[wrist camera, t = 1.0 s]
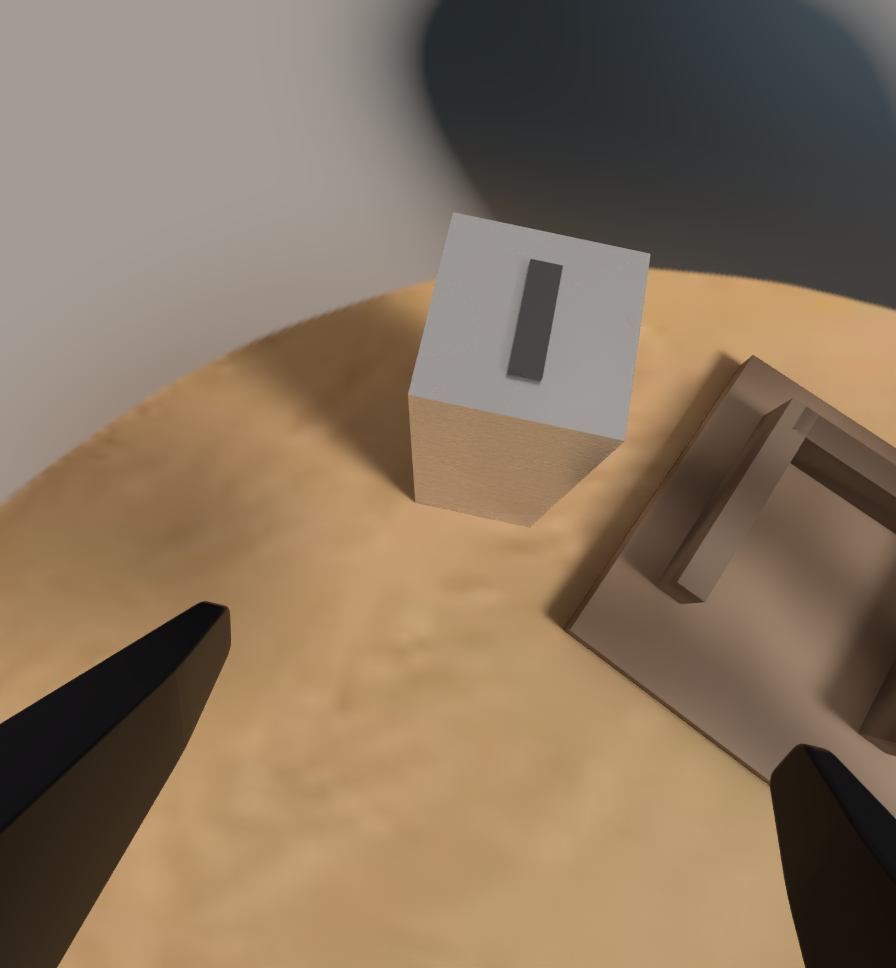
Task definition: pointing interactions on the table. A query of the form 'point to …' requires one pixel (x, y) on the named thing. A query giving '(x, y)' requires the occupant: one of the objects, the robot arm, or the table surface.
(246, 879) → the table surface
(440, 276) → the block
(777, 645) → the cradle
